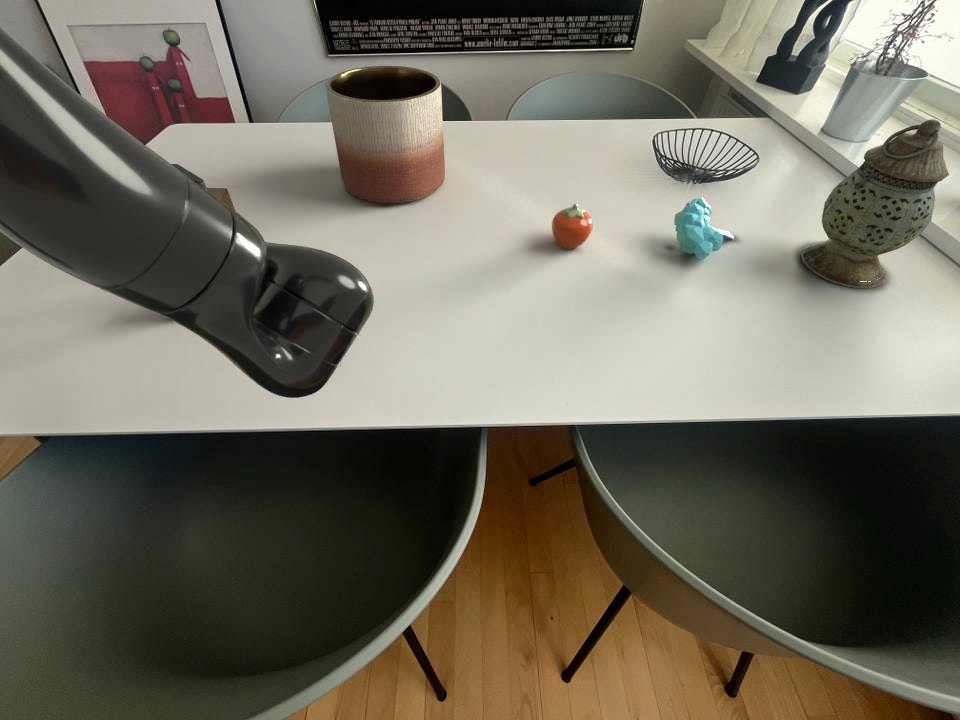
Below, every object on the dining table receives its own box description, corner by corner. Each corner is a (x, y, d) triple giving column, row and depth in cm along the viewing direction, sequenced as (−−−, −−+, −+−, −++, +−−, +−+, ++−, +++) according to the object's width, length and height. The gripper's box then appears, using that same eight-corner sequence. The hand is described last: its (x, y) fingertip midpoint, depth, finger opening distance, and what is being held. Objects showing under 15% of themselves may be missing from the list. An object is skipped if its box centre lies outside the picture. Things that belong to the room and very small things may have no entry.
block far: (237, 253, 85) (216, 201, 78) (212, 252, 85) (189, 200, 78) (246, 239, 89) (227, 188, 81) (222, 238, 89) (200, 187, 81)
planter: (354, 160, 113) (337, 63, 98) (447, 162, 113) (445, 66, 99) (333, 207, 97) (310, 100, 83) (442, 209, 98) (438, 103, 83)
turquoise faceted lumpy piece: (680, 237, 99) (648, 221, 89) (720, 209, 94) (692, 188, 83) (706, 281, 96) (676, 270, 85) (749, 254, 90) (723, 238, 79)
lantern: (888, 298, 80) (1010, 147, 62) (796, 275, 84) (885, 127, 66) (880, 256, 89) (984, 113, 71) (796, 237, 93) (875, 97, 75)
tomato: (594, 240, 91) (603, 201, 85) (578, 259, 86) (586, 219, 81) (559, 228, 93) (565, 189, 88) (542, 246, 89) (547, 206, 83)
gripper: (236, 171, 42) (139, 125, 48) (57, 240, 34) (-30, 174, 40) (262, 245, 47) (171, 195, 54) (113, 320, 39) (28, 250, 46)
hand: (85, 186), depth 47 cm, fingers open, 8 cm apart
